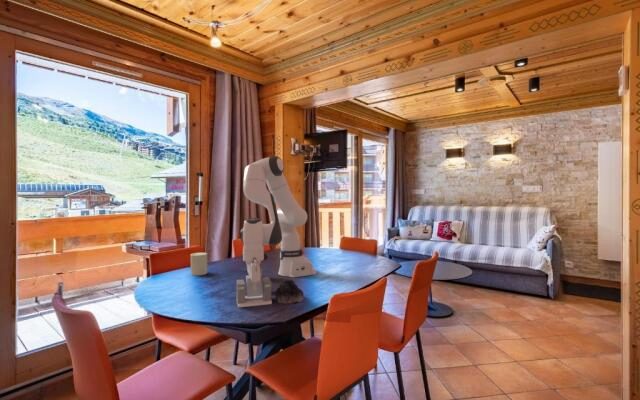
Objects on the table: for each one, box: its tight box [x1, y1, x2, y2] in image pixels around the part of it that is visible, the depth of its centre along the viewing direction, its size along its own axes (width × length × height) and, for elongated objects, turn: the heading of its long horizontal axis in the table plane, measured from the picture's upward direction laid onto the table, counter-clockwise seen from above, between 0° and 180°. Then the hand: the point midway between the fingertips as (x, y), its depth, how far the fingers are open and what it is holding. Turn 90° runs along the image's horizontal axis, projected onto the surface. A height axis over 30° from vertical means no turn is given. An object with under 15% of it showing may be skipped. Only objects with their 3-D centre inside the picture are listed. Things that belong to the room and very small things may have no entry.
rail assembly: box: [235, 276, 273, 308], centre depth 139 cm, size 14×11×9 cm
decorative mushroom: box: [260, 252, 269, 277], centre depth 178 cm, size 11×11×15 cm
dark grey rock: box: [274, 279, 305, 304], centre depth 142 cm, size 14×14×10 cm
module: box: [245, 274, 262, 297], centre depth 139 cm, size 6×5×8 cm
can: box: [190, 252, 208, 276], centre depth 187 cm, size 9×9×12 cm
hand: (253, 287), depth 139 cm, fingers closed on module, 5 cm apart
